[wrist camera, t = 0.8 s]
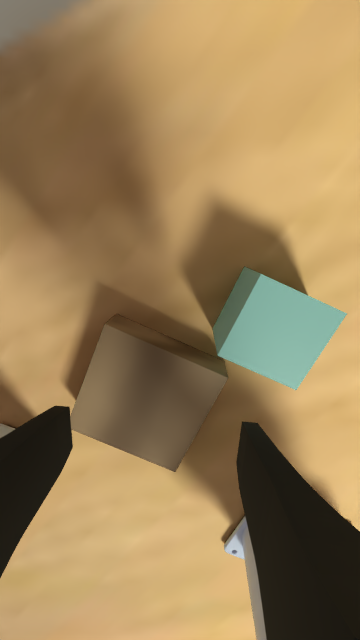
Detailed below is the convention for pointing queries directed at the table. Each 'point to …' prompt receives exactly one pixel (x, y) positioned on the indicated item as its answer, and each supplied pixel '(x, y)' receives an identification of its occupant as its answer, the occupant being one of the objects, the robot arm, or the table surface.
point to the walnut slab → (146, 392)
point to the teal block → (273, 328)
